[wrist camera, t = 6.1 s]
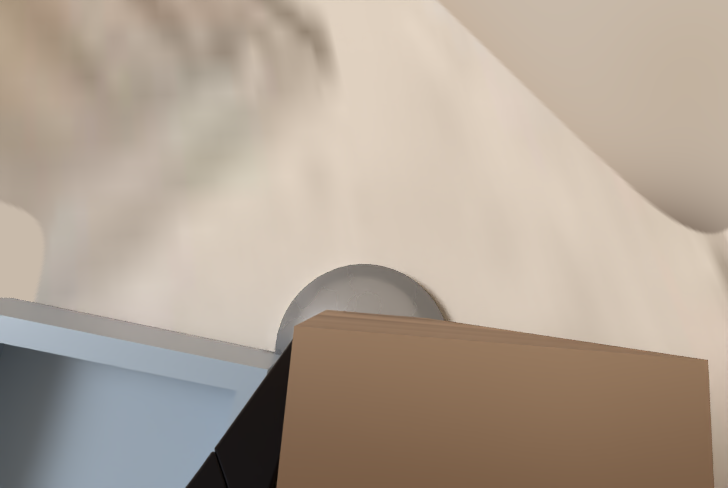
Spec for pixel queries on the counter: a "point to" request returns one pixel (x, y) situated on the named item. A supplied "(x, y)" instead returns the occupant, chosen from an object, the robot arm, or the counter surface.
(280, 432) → the robot arm
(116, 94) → the counter surface
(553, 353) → the strut
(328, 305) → the base
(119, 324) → the bin
